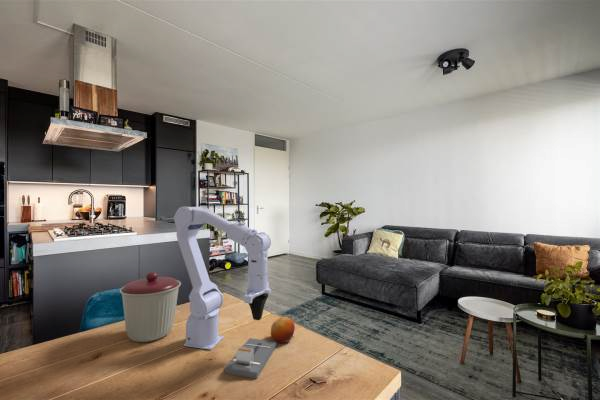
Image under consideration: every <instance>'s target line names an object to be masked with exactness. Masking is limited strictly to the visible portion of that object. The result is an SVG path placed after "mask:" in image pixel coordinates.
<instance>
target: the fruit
mask: <svg viewBox="0 0 600 400" xmlns="http://www.w3.org/2000/svg"><path fill="white" fill-rule="evenodd" d="M295 330H296V328H295V323H294V321H293V320H292V319H291V318H290V317H288V316H282V317H279V318H278V319H277V320H275V321H273V323H272V324H271V326H270V337H271V338H272V339H273V340H274V341H275V342H276V343H282V344H284V343H290V341H291V339H292V338H294V333H295Z"/></svg>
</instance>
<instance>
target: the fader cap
mask: <svg viewBox="0 0 600 400" xmlns="http://www.w3.org/2000/svg"><path fill="white" fill-rule="evenodd" d="M235 351H236V352H235V355H236V364H238V365H244V366H251V365H252V364H253V362H254V349H252V348H245V347H243V346H240V347H239V348H237V350H235Z"/></svg>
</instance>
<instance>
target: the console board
mask: <svg viewBox="0 0 600 400" xmlns="http://www.w3.org/2000/svg"><path fill="white" fill-rule="evenodd" d="M242 347H245V348H252V349H254V362H253V364H252V365H251V366H244V365H238V364H236V354H234V356H233V357H232V358H231V360H230V361H228V363H227V365H225V366H224V374H226V375H233V376H239V377H246V378H251V379H256V380H257V379H258V378H259V376H260V375H261V373H262V371H263V369H264V368H265V366H266V364H267V363H268V361H269V360H270V358H271V356H272V355H273V353H274V351H275V349H276V348H277V342H276V341H275V340H274V341H273V340H265V339H259V338H251V337H249V338H248V339H247V340H246V342H245V343H244V344H243V346H242Z"/></svg>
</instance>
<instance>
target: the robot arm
mask: <svg viewBox="0 0 600 400" xmlns="http://www.w3.org/2000/svg"><path fill="white" fill-rule="evenodd" d="M173 221H174V224H175V227H176V238H177V241H178V245H179V249H180V251H181V255H182V257H183V261H184V263H185V264H184V265H185V268H186V270H187V274H188V277H189V280H190V283H191V286H192V289H191V291H190V293H189V295H188V299H189V312H190V314H189V316H188V317H187V320H186V324H185V342H184V344H183V345H184V347H190V348H195V349H202V350H212V349H213V348H214V347H216V346H217V344H219V343H220V342H221V341H222V340H224V335H219V320H220V319H219V312H220V309H221V308H220V307H221V306H222V305H223V303H224V295H223V293H222V292H221V291H220V289H219V288H218V285H217V284H216V283H214V282H213V281H211V279H210V277H209V273H208V270H207V268H206V265H205V261H204V259H203V255H202V252H201V249H200V247H199V243H198V239H197V234H198V233H199V232H200V231H201V229H203V227H204V226H205V225H206V224H208V225H210V226H212V227H214V228H216V229H218V230H219V231H223V232H224V233H226V237H227V238H228V239H229V240H231V241H233V242H235V243H237V244H238V245H240V246H242V247H244V248H245V251H246V252H247V257H248V267H247V268H248V269H247V270H248V271H247V274H248V276H247V277H248V278H247V289H246V293H245V295H244V297H243V298H244V299H243V300H244V301H243V303H244V304H248V305H249V308H250V311H251V315H252V320H254V321H260V320H262V317H263V313H264V309H265V306H266V305H265V304H266V301H267V299H268V297H269V293H271V292H272V289H271V288H270V282H269V281H268V261H269V260H268V258H269V257H268V252H269V250H268V249H270V248H271V245H272V241H271V238H270V236H269V235H268V234H267V233H265V232H263V231H261V232H258V230H257V229H255V228H253V229H252V228H250V227H249V226H246V225H245V224H246V223H245V222H243V221H237V222H234V223H232V222H230V221H229V220H227V219H226V218H225V217H223V216H221V215H219V214H217V213H215V211H213V210H212V209H210V208H207V207H205V206H203V205H202V206H201V205H200V206H186V205H185V206H180V207H179V208H178V209H177V210H176V212H175V214H174V216H173Z"/></svg>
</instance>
